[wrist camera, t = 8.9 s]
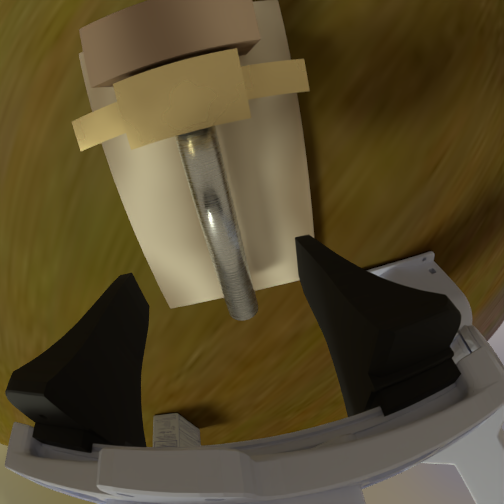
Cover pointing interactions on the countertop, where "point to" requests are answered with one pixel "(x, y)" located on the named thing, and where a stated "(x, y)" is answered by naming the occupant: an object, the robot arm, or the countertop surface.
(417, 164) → the countertop surface
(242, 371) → the countertop surface
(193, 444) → the medicine box
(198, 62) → the wing nut
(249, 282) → the threaded rod
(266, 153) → the beige blocky piece
